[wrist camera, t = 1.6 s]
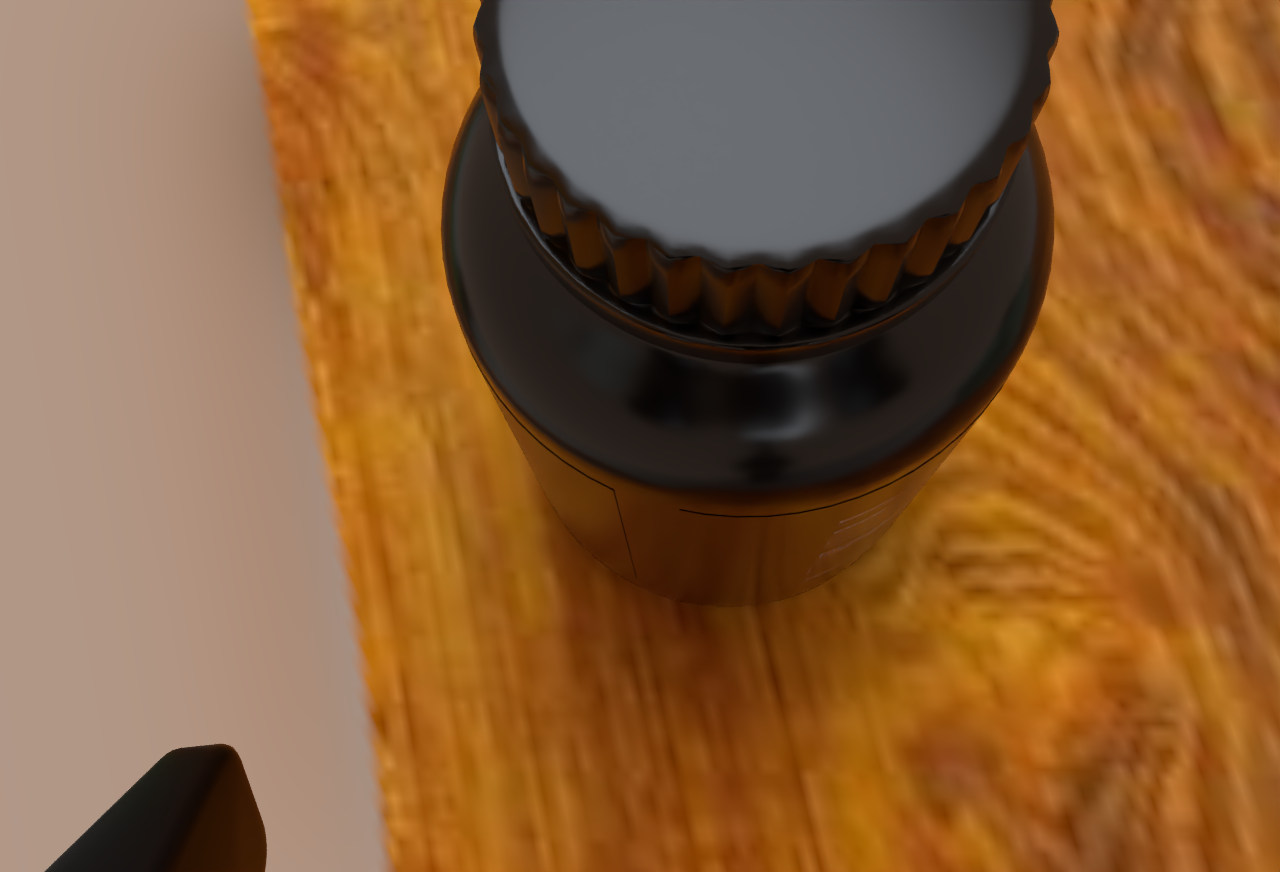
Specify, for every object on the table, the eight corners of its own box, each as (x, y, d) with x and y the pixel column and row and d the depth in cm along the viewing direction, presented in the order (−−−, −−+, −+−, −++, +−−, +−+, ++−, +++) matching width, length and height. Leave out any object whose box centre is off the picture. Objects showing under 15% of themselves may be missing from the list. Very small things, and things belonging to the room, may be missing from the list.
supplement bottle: (859, 211, 22) (1067, -398, 10) (959, 568, 20) (1346, 306, 9) (496, 283, 22) (301, -257, 10) (565, 651, 20) (422, 496, 8)
